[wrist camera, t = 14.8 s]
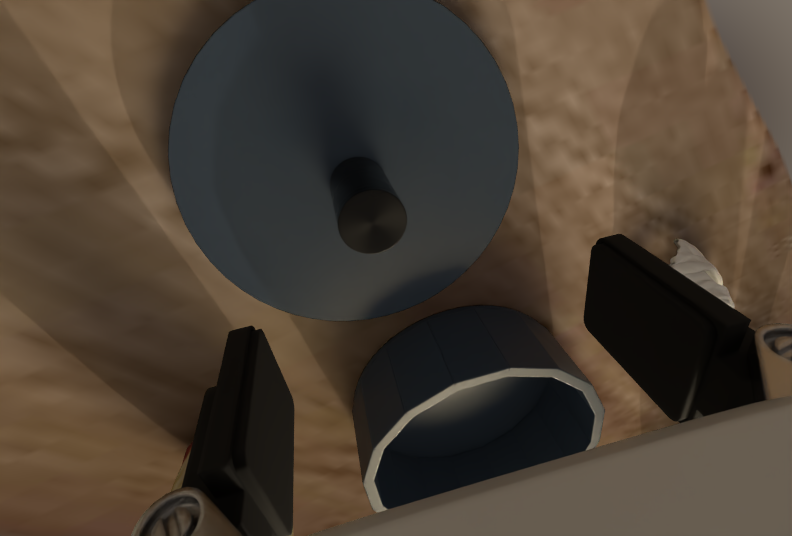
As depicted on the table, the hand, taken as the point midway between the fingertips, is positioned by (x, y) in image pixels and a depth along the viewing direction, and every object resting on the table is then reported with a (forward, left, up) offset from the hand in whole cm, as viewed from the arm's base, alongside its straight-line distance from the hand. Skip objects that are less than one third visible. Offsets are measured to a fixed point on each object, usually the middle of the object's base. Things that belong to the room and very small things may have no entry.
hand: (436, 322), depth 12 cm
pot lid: (-1, 0, -11) cm, 11 cm away
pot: (+3, -18, -12) cm, 21 cm away
